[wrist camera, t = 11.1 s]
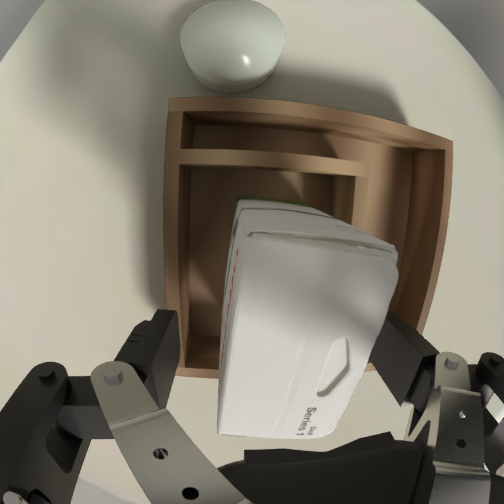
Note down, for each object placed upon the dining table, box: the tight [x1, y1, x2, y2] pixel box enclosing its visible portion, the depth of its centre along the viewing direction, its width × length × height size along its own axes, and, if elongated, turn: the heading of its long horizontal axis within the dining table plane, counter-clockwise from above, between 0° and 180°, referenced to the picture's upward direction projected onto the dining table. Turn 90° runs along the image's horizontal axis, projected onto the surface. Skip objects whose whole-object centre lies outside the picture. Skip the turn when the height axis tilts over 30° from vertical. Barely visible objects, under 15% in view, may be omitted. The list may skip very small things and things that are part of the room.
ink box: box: [217, 196, 399, 439], centre depth 14 cm, size 9×5×12 cm, turn 172°
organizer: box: [163, 97, 453, 379], centre depth 17 cm, size 18×17×4 cm
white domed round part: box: [180, 0, 285, 92], centre depth 14 cm, size 6×6×4 cm
